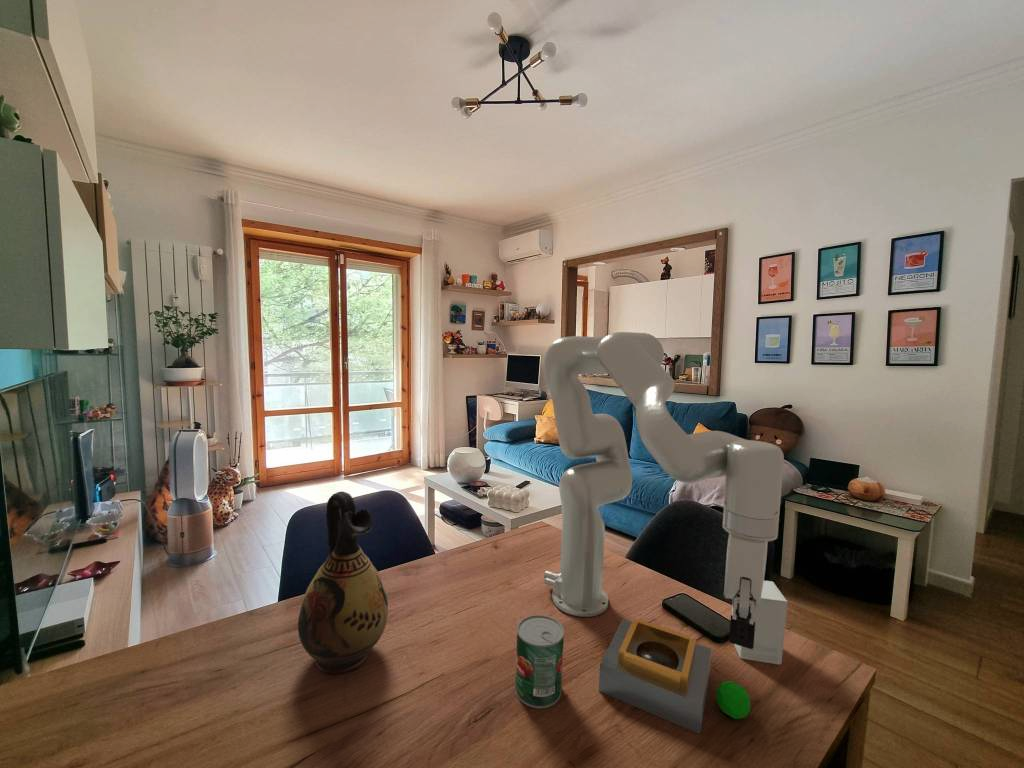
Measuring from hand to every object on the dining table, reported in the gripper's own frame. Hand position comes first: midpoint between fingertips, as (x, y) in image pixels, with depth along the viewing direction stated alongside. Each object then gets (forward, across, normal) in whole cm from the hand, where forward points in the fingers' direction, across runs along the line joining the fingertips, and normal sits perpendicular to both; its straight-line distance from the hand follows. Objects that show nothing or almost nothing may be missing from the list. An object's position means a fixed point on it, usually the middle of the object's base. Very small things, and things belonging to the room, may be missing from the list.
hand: (742, 626), depth 70 cm
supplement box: (+15, -19, +2) cm, 25 cm away
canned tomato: (+15, +12, -30) cm, 35 cm away
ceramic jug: (+15, +23, -65) cm, 70 cm away
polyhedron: (+15, 0, -1) cm, 15 cm away
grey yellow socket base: (+15, -2, -13) cm, 20 cm away
